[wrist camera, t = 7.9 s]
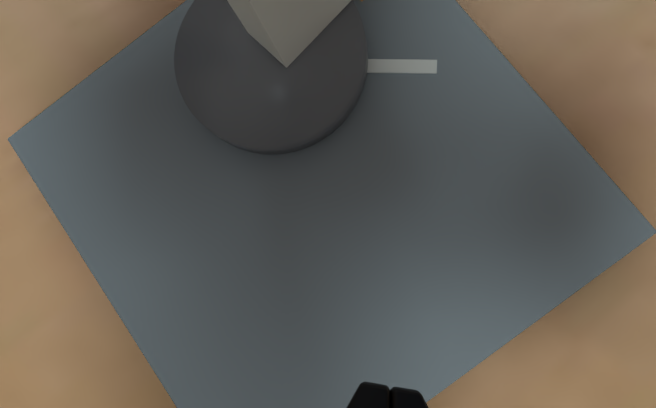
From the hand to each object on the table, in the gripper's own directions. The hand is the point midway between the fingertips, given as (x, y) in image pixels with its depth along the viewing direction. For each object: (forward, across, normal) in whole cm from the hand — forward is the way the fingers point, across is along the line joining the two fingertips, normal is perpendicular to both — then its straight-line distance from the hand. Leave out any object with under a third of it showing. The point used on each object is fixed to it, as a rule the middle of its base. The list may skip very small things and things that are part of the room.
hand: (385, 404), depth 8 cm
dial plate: (+14, +3, +5) cm, 15 cm away
